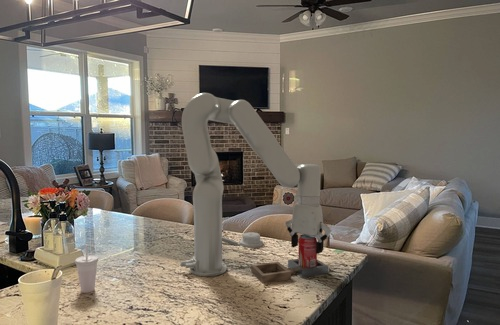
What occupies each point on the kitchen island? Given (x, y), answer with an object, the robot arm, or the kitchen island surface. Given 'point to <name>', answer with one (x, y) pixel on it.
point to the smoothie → (87, 271)
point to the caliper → (230, 241)
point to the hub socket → (306, 272)
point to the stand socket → (270, 277)
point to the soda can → (307, 251)
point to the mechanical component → (251, 240)
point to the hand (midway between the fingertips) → (306, 249)
